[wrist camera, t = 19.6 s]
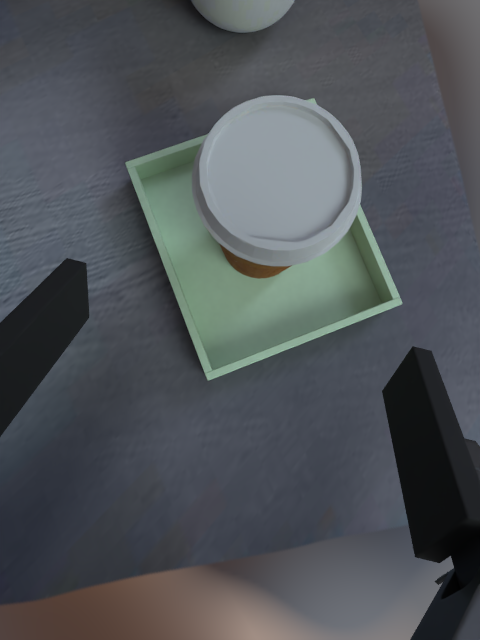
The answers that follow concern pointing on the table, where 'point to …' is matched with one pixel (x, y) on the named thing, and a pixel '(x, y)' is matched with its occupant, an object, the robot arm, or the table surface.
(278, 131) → the disposable coffee cup
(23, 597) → the table surface
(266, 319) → the tray
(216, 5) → the teacup
